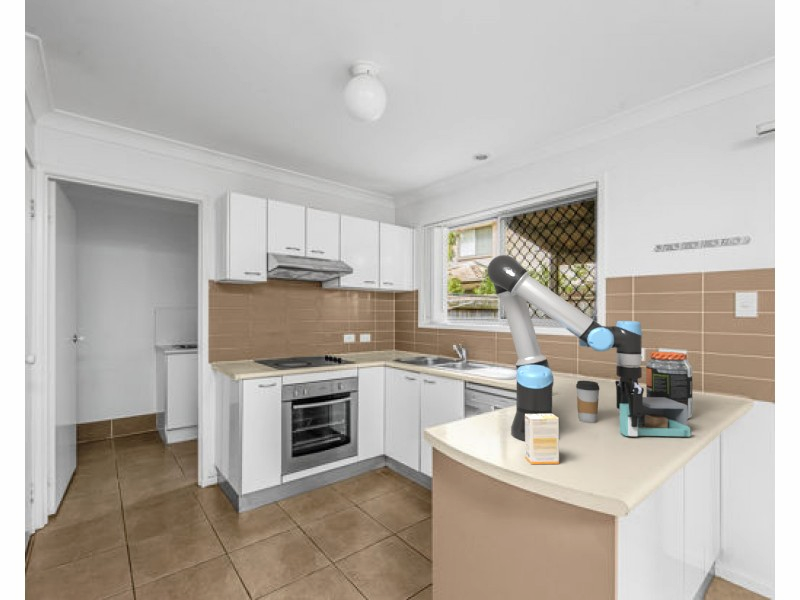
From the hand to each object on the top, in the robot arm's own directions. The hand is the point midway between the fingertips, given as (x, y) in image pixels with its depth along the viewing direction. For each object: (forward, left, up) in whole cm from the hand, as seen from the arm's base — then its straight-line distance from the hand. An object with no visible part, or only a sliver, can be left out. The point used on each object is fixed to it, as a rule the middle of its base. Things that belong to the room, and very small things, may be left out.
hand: (628, 433), depth 133 cm
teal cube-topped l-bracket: (+9, +3, 0) cm, 10 cm away
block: (+14, +8, -1) cm, 16 cm away
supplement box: (-38, -23, -1) cm, 45 cm away
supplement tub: (+32, +28, -1) cm, 42 cm away
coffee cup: (-6, +18, -1) cm, 19 cm away
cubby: (+16, +10, -1) cm, 19 cm away
